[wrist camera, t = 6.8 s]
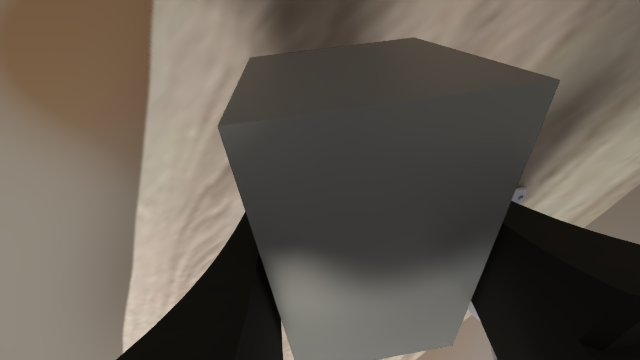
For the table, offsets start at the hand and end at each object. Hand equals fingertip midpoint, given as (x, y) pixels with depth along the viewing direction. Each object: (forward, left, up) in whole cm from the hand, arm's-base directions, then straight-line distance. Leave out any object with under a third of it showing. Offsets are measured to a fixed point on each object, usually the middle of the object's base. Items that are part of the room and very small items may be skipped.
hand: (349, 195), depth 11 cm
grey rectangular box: (0, 0, -2) cm, 2 cm away
